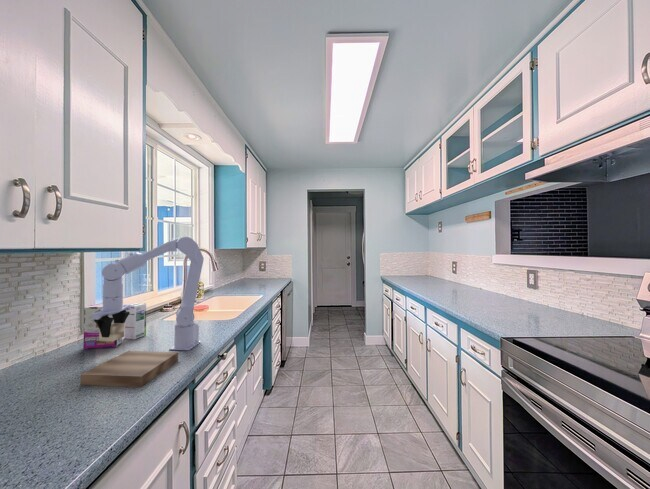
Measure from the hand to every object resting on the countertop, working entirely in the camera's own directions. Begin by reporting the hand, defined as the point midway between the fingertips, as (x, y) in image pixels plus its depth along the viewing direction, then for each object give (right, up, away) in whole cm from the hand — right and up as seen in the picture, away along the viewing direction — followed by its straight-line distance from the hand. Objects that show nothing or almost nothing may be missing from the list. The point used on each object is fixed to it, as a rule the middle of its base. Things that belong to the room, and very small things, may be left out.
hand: (112, 334), depth 97 cm
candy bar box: (-12, -8, +10) cm, 18 cm away
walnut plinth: (+15, -8, -11) cm, 21 cm away
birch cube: (0, -2, 0) cm, 2 cm away
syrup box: (-7, -9, +22) cm, 25 cm away
